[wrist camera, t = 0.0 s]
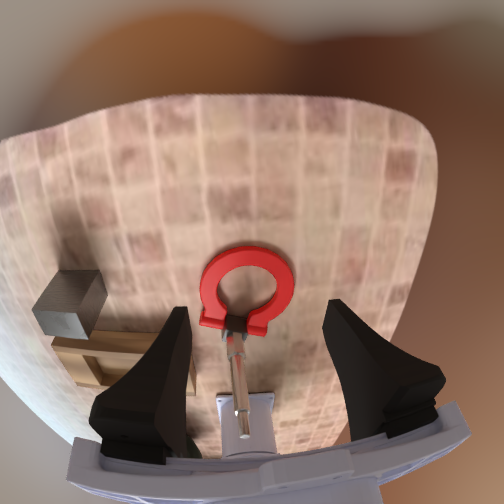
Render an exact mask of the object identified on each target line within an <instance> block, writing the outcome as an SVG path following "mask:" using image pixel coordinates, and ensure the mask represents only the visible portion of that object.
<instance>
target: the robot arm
mask: <svg viewBox="0 0 504 504" xmlns="http://www.w3.org/2000/svg"><path fill="white" fill-rule="evenodd" d="M322 329H323V334H324V338H325V342H326V345H327V348H328V351H329V353H330V356H331V358H332V361H333V364H334V366H335V369H336V371H337V374H338V377H339V380H340V383H341V386H342V391H343V395H344V399H345V404H346V409H347V414H348V420H349V426H350V435H351V442H349V443H345V444H340V445H336V446H331V447H326V448H321V449H316V450H310V451H304V452H298V453H291V454H283V455H280V453H278V454H277V448H276V441H275V435H274V428H273V422H272V409H273V403H274V397H275V394H274V393H259V394H248V398H249V405H250V414H248V420H249V428H250V437H249V438H246V439H242V438H240V437H239V427H238V417H237V415H235V414H234V404H233V395H218V396H216V403H217V409H218V414H219V420H220V424H221V437H222V457H221V459H191V458H187V444H186V388H187V381H188V374H189V367H190V360H191V353H192V332H191V326H190V320H189V314H188V308H187V306H182V307H174V308H173V310H172V312H171V314H170V316H169V318H168V320H167V321H166V323H165V325H164V326H163V328H162V330H161V331H160V333H159V334H158V336H157V337H156V339H155V340H154V342H153V343H152V345H151V346H150V347H149V349H148V350H147V351H146V353H145V354H144V355H143V356H142V357H141V359H140V360H139V361H138V362H137V363H136V364H135V365H134V366H133V367H132V368H131V369H130V370H129V371H128V372H127V373H126V374H125V375H124V376H123V377H122V378H120V379H119V380H118V381H117V382H116V383H115V384H113V385H112V386H111V387H109V388H108V389H107V390H105V391H104V392H102V393H101V394H99V395H98V396H96V398H95V401H94V403H93V405H92V409H91V413H90V417H89V424H90V426H91V427H92V428H93V429H94V430H95V431H96V432H97V433H98V434H99V435H100V436H101V437H102V444H100V443H98V442H96V441H92V440H87V439H83V438H79V437H75V438H74V442H73V447H72V451H71V456H70V461H69V467H68V473H67V478H66V480H67V481H68V482H70V483H72V484H73V485H75V486H77V487H79V488H81V489H83V490H85V491H87V492H89V493H91V494H95V495H98V496H102V497H106V498H110V499H114V500H118V501H123V502H127V503H132V504H383V500H382V496H381V493H380V489H379V485H381V484H384V483H386V482H389V481H391V480H394V479H396V478H398V477H401V476H403V475H405V474H407V473H410V472H412V471H414V470H416V469H418V468H420V467H422V466H424V465H426V464H428V463H430V462H432V461H434V460H436V459H438V458H440V457H442V456H444V455H445V454H447V453H449V452H450V451H452V450H453V449H454V448H456V447H457V446H458V445H460V444H461V443H462V442H463V441H464V440H466V439H467V438H468V437H469V436H471V434H472V433H471V431H470V429H469V427H468V425H467V423H466V421H465V419H464V417H463V415H462V413H461V411H460V409H459V407H458V405H457V403H456V401H452V402H450V403H447V404H446V405H443V406H441V407H439V408H438V409H435V407H434V405H435V404H436V401H435V399H434V397H435V396H436V395H437V394H438V393H439V391H440V390H441V389H442V388H443V386H444V384H445V382H446V378H445V376H444V375H443V373H442V371H441V369H440V368H439V367H438V366H436V365H434V364H431V363H428V362H425V361H422V360H421V359H418V358H416V357H414V356H412V355H410V354H408V353H406V352H404V351H403V350H401V349H399V348H398V347H396V346H394V345H393V344H391V343H390V342H388V341H387V340H386V339H384V338H383V337H381V336H380V335H379V334H378V333H376V332H375V331H374V330H373V329H371V328H370V327H369V326H368V325H367V324H366V323H365V322H363V321H362V320H361V319H360V318H359V317H358V316H357V315H356V314H355V313H354V312H353V311H352V310H351V309H350V308H349V307H348V306H347V305H346V304H345V303H344V302H342V301H341V300H340V299H333V300H329V302H328V306H327V310H326V314H325V318H324V322H323V326H322Z"/></svg>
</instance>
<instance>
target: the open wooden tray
mask: <svg viewBox="0 0 504 504" xmlns="http://www.w3.org/2000/svg"><path fill="white" fill-rule="evenodd" d="M158 334H159V333H143V332H117V331H100V330H92V333H91V335H90V337H89V340H86V339H76V338H66V337H58V336H55V338H54V340H53V342H52V344H51V346H52V348H53V350H54V351H55V353H56V355H57V356H58V358H59V359H60V361H61V362H62V364H63V365H64V367H65V368H66V370H67V371H68V373H69V374H70V376H71V377H72V379H73V380H74V382H75V383H76V384H77V386H81V387H88V388H94V389H101V390H107V389H108V388H109V387H111V386H112V385H113V384H115V383H116V382H117V381H118V380H119V379H120V378H122V377H123V376H124V375H125V374H126V373H127V372H128V371H129V370H130V369H131V368H132V367H133V366H134V365H135V364H136V363H137V362H138V361H139V360H140V359H141V357H142V356H143V355H144V354H145V353H146V351H147V350H148V349H149V347H150V346H151V345H152V343H153V342H154V340H155V339H156V337H157V336H158ZM186 396H196V372H195V368H194V363H193V359H192V354H191V360H190V367H189V374H188V381H187V388H186Z"/></svg>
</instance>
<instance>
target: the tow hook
mask: <svg viewBox="0 0 504 504" xmlns="http://www.w3.org/2000/svg"><path fill="white" fill-rule="evenodd" d="M247 265H253V266H258V267H262V268H264V269H266V270H268V271H269V272H270V273H271V274H272V275H273V276H274V277H275V279H276V282H277V288H276V292H275V294H274V296H273V298H272V299H271V300H270V302H268V303H267V304H266V305H265V306H263V307H261V308H259V309H256V310H252V311H251V312H250V313H249V316H248V318H247V320H246V319H245V318H241V317H235V316H230V315H226V314H227V306H226V305H225V304H224V303H223V302H222V301H221V300H220V299H219V296H218V294H217V287H218V283H219V282H220V280H221V278H222V277H223V276H224V275H225V274H226V273H227V272H229V271H230V270H232V269H234V268H237V267H240V266H247ZM293 292H294V280H293V275H292V272H291V270H290V268H289V267H288V265H287V263H286V262H285V261H284V260H283V259H282V258H281V257H280V256H279V255H278V254H276V253H274V252H272V251H270V250H268V249H265V248H260V247H256V246H241V247H237V248H233V249H230V250H227V251H225V252H223V253H222V254H220V255H218V256H216V257H215V258H214V259H213V260H212V261H211V262H210V263H209V264H208V265H207V267H206V269H205V270H204V272H203V274H202V278H201V282H200V297H201V301H202V303H203V305H204V307H205V309H204V311H202V312H201V315H200V320H199V325H201V326H206V327H211V328H217V329H221V330H222V341H223V342H227V356H228V359H229V361H230V366H231V380H232V392H233V404H234V414H235V415H237V417H238V427H239V437H240V438H242V439H246V438H249V437H250V428H249V420H248V414H250V405H249V398H248V390H247V382H246V373H245V365H244V360H245V359H246V355H245V347H244V342H245V340H246V338H247V335H248V334H250V335H257V336H263V337H264V336H265V335H266V333H267V328H268V326H267V324H268V322H269V321H270V320H272V319H274V318H275V317H277V316H278V315H279V314H280V313H282V312H283V311H284V309H285V308H286V307H287V306H288V304H289V303H290V301H291V298H292V296H293Z"/></svg>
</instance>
